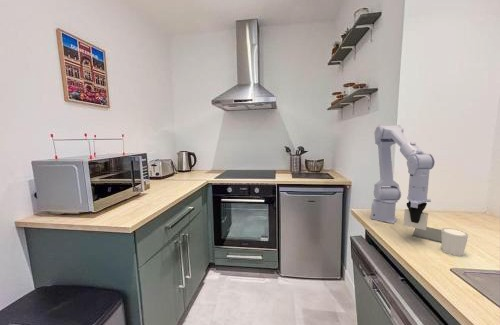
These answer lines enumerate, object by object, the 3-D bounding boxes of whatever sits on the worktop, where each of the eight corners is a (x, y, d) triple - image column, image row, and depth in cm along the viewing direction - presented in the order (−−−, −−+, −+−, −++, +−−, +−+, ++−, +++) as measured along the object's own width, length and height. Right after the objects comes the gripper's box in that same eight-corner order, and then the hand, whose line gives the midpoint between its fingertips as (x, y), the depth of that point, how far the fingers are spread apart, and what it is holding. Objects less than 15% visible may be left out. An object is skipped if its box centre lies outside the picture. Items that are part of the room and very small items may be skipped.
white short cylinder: (469, 258, 73) (471, 238, 72) (441, 253, 76) (443, 233, 75) (463, 249, 78) (465, 230, 78) (437, 244, 82) (439, 226, 81)
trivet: (412, 235, 89) (412, 234, 89) (416, 226, 99) (416, 224, 99) (456, 246, 80) (456, 245, 80) (457, 234, 90) (457, 233, 90)
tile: (403, 225, 88) (404, 210, 87) (404, 223, 89) (405, 209, 88) (426, 230, 83) (427, 214, 82) (426, 228, 84) (428, 213, 83)
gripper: (429, 192, 76) (426, 230, 78) (433, 184, 86) (430, 218, 88) (404, 188, 81) (402, 225, 82) (411, 182, 91) (408, 214, 93)
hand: (415, 221), depth 86 cm, fingers closed on tile, 2 cm apart
